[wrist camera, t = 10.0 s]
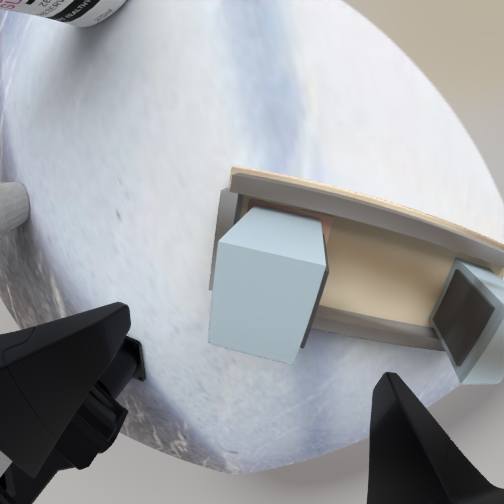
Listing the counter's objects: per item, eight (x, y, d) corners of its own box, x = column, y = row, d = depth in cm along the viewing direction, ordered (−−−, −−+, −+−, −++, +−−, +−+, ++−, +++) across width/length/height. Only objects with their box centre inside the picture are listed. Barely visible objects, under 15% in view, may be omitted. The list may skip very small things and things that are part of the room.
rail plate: (461, 336, 18) (496, 402, 10) (220, 285, 21) (172, 357, 13) (503, 244, 14) (565, 291, 7) (238, 166, 17) (179, 179, 10)
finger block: (306, 292, 18) (299, 366, 11) (243, 277, 18) (207, 342, 12) (325, 220, 16) (333, 267, 9) (255, 204, 16) (218, 241, 10)
